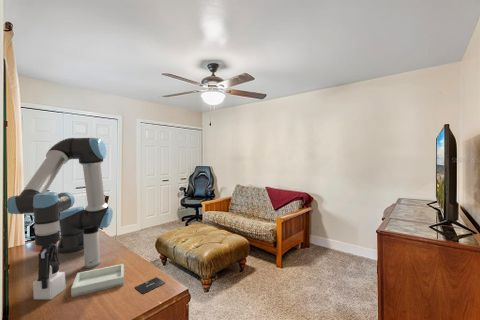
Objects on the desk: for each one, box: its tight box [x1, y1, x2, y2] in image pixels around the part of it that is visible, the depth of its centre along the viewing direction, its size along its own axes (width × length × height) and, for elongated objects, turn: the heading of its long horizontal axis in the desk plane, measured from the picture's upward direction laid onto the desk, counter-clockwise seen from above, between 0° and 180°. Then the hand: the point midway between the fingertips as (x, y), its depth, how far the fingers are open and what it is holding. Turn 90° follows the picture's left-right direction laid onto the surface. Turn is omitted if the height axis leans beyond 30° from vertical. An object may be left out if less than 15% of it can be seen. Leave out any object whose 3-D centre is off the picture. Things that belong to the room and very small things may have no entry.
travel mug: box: [83, 225, 101, 269], centre depth 115 cm, size 6×7×20 cm
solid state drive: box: [134, 276, 166, 295], centre depth 97 cm, size 7×10×1 cm
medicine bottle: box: [32, 261, 67, 300], centre depth 92 cm, size 7×7×12 cm
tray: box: [70, 263, 125, 298], centre depth 100 cm, size 13×18×4 cm
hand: (50, 288), depth 92 cm, fingers closed on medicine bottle, 9 cm apart
